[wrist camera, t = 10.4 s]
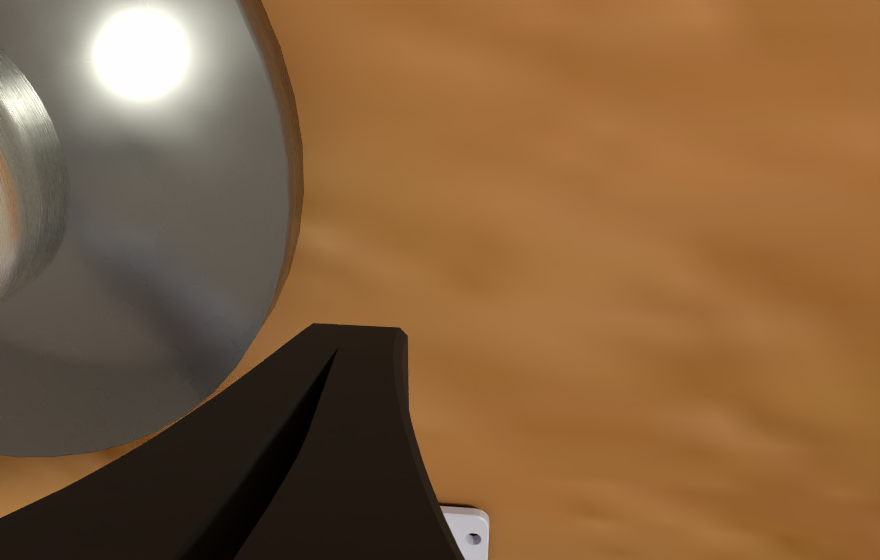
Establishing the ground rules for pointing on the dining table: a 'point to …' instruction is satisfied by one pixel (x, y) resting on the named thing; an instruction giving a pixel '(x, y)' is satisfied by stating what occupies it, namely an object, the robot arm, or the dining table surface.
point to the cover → (28, 184)
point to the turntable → (149, 214)
